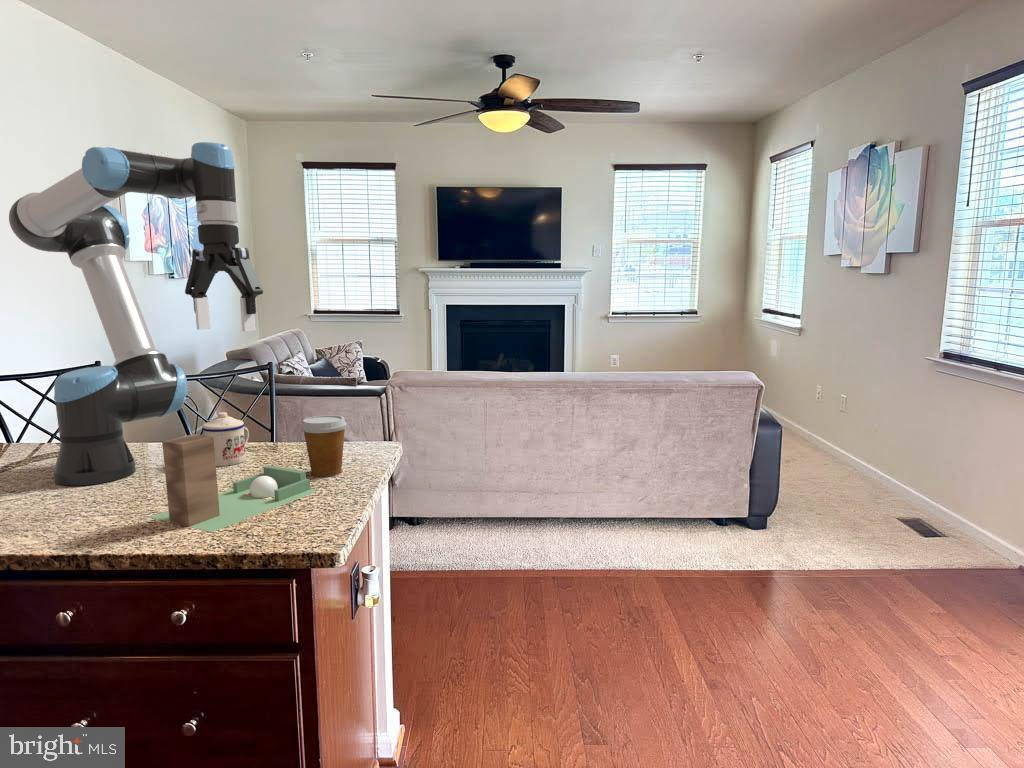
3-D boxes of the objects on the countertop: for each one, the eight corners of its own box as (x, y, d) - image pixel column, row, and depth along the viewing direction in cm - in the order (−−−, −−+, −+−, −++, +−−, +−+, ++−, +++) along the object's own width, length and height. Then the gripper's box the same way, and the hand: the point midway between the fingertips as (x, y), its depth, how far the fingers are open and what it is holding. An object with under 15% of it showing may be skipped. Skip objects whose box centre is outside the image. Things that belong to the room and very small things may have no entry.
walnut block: (169, 522, 115) (162, 441, 113) (200, 511, 120) (193, 433, 118) (189, 526, 112) (182, 444, 110) (219, 515, 118) (213, 436, 115)
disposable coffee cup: (337, 480, 143) (334, 424, 141) (295, 478, 145) (292, 423, 143) (356, 467, 152) (353, 415, 150) (317, 465, 154) (314, 414, 152)
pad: (150, 525, 118) (147, 497, 117) (259, 487, 138) (258, 463, 138) (212, 540, 110) (210, 511, 109) (318, 498, 131) (317, 473, 130)
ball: (248, 471, 129) (268, 476, 133) (240, 497, 127) (260, 502, 132) (267, 475, 126) (286, 480, 131) (259, 501, 125) (278, 506, 129)
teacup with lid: (226, 468, 152) (222, 417, 151) (195, 465, 156) (191, 415, 154) (264, 455, 163) (260, 408, 162) (234, 452, 167) (230, 406, 165)
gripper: (160, 226, 139) (170, 329, 142) (246, 220, 127) (254, 333, 130) (193, 228, 145) (201, 327, 149) (277, 222, 134) (283, 330, 137)
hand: (225, 330), depth 139 cm, fingers open, 13 cm apart
